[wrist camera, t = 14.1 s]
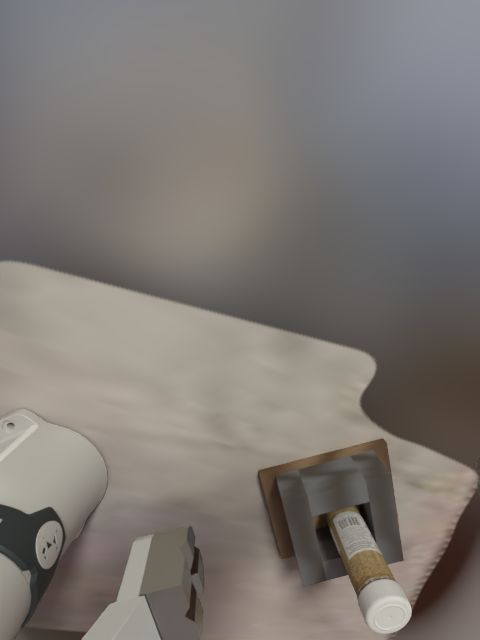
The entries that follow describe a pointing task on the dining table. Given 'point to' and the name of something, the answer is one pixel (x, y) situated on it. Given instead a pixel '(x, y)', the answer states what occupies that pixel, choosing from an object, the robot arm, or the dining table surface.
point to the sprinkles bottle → (368, 572)
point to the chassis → (331, 506)
